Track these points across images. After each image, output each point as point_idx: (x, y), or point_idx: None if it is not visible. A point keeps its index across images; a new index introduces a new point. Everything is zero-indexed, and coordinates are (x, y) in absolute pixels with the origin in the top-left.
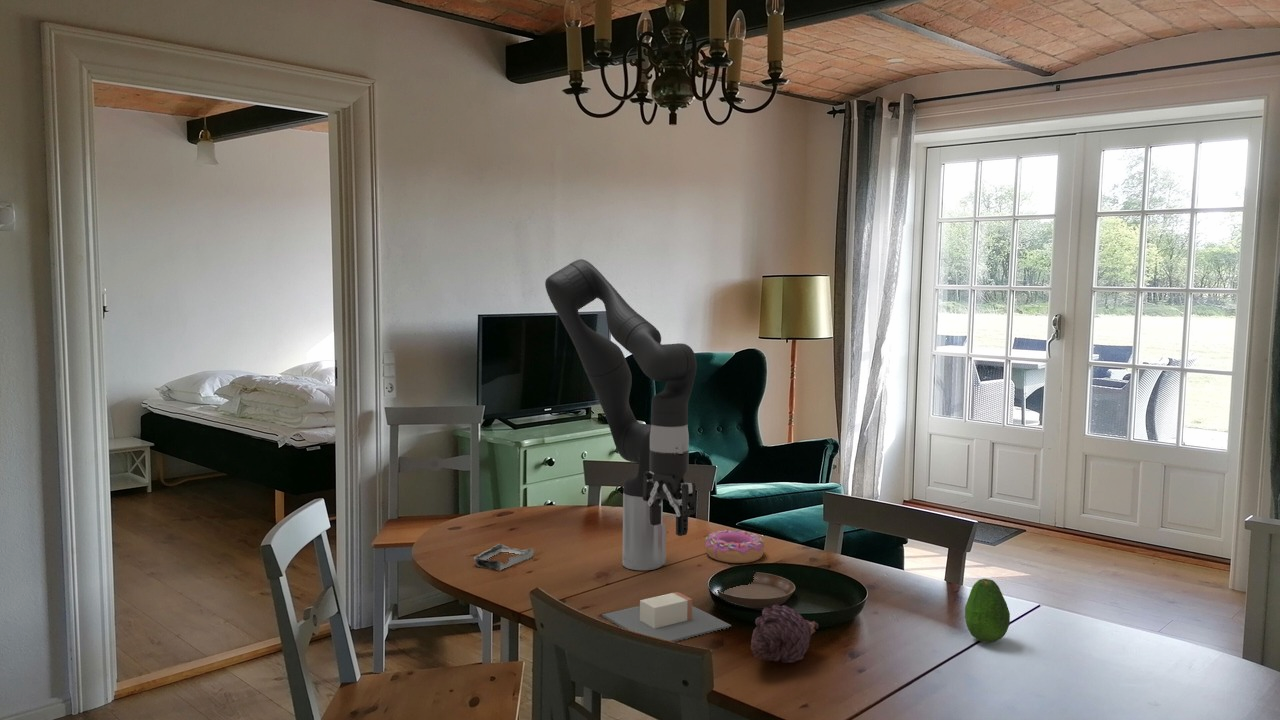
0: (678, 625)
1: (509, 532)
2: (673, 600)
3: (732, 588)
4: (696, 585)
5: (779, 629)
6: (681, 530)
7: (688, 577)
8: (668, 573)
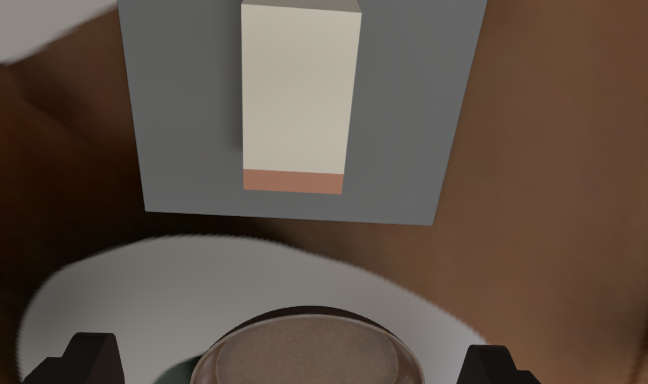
0: (226, 80)
1: None
2: (273, 127)
3: (378, 366)
4: (471, 322)
5: None
6: (28, 382)
7: (531, 341)
8: (599, 323)
